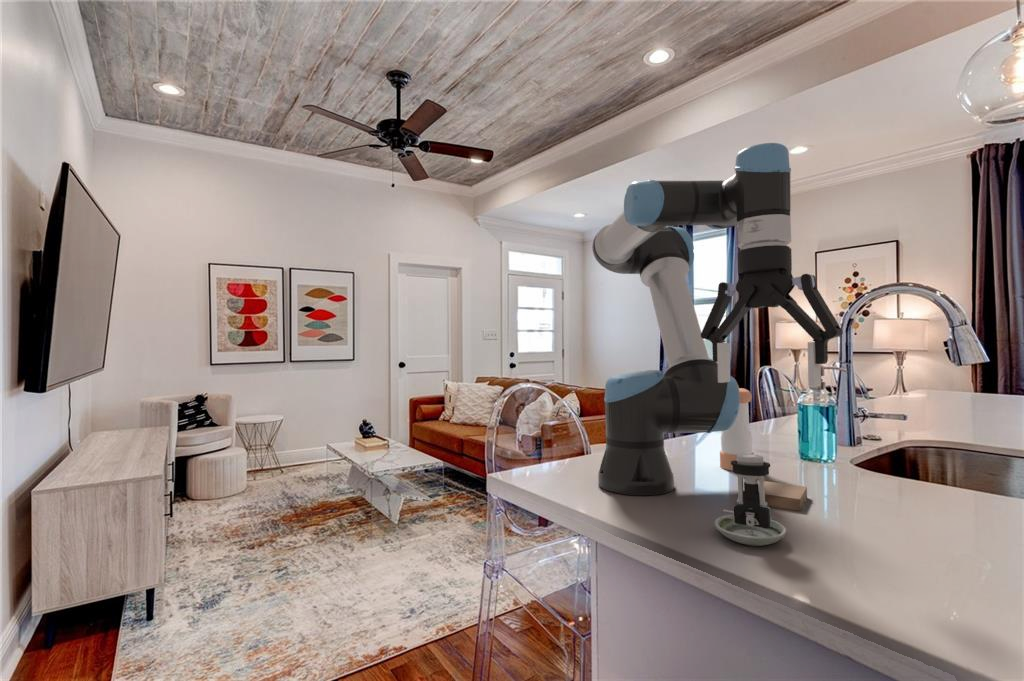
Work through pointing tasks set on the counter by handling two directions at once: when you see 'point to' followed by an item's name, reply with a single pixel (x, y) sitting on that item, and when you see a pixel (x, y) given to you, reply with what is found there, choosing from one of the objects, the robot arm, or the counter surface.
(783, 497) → the wooden block
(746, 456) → the push button
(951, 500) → the counter surface
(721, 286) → the robot arm
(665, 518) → the counter surface
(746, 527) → the saucer
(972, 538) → the counter surface
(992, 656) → the counter surface
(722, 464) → the pepper shaker
